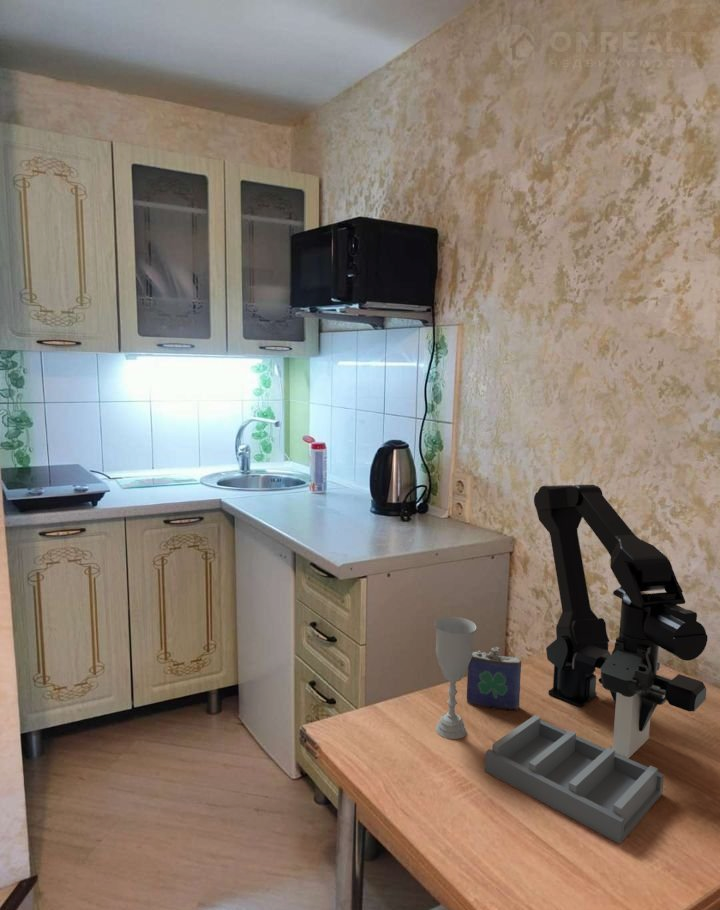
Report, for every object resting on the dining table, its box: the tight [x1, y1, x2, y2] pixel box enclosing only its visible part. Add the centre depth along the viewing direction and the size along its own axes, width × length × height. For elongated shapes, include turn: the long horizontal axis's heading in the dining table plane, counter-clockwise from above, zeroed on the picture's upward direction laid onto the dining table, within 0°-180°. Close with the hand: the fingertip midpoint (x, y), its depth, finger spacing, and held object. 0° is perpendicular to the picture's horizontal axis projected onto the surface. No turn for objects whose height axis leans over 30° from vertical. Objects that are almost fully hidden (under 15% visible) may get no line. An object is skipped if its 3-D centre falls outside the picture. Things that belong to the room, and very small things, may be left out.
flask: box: [466, 646, 522, 712], centre depth 110 cm, size 9×3×11 cm, turn 74°
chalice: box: [433, 616, 477, 740], centre depth 101 cm, size 7×7×18 cm
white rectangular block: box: [612, 691, 651, 759], centre depth 98 cm, size 2×8×10 cm, turn 134°
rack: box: [484, 714, 665, 845], centre depth 89 cm, size 20×14×4 cm
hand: (632, 726), depth 99 cm, fingers closed on white rectangular block, 2 cm apart
